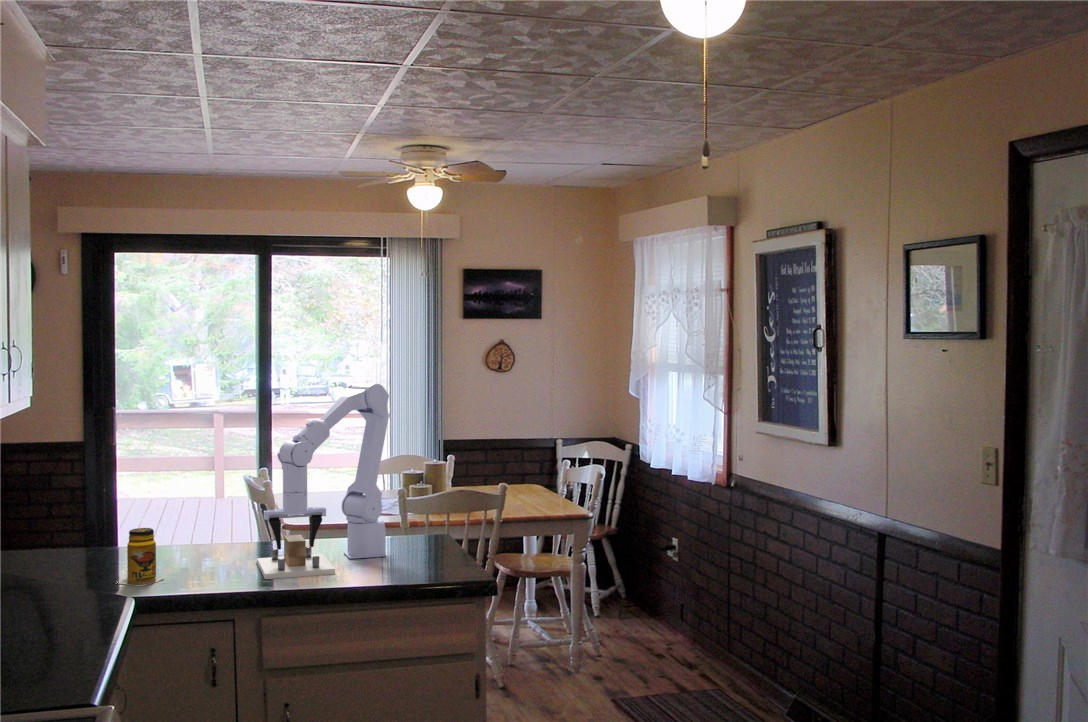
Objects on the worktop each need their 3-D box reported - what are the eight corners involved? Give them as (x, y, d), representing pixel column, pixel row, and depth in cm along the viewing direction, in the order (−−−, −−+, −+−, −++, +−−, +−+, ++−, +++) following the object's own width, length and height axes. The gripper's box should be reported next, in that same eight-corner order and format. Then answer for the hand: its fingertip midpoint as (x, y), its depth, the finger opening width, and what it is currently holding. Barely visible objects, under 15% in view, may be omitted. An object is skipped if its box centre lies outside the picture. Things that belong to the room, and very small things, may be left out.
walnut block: (300, 558, 250) (300, 534, 250) (305, 565, 243) (305, 540, 243) (284, 560, 249) (284, 535, 249) (288, 567, 241) (288, 541, 241)
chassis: (322, 558, 257) (322, 543, 257) (335, 573, 240) (335, 558, 240) (256, 563, 251) (256, 548, 251) (265, 579, 234) (265, 563, 234)
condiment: (143, 586, 227) (143, 533, 226) (112, 583, 229) (112, 530, 229) (165, 579, 234) (165, 527, 233) (134, 576, 236) (134, 525, 236)
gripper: (322, 487, 251) (322, 542, 252) (262, 490, 246) (262, 546, 246) (327, 491, 245) (327, 547, 245) (265, 494, 239) (265, 552, 240)
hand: (295, 547), depth 245 cm, fingers open, 7 cm apart
